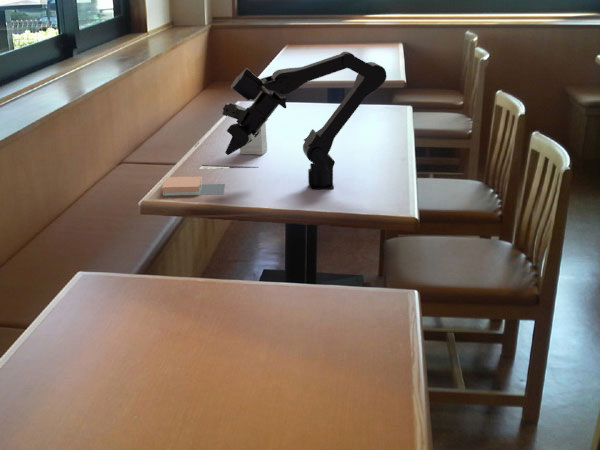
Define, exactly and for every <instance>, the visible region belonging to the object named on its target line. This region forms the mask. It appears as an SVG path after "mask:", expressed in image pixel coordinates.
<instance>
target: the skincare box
mask: <svg viewBox="0 0 600 450" xmlns="http://www.w3.org/2000/svg"><path fill="white" fill-rule="evenodd" d="M237 120H238V119H236V121H237ZM238 124H239V123H238ZM266 124H267V123H266V122H265V123H264V124H263V125H262V127H261V132H260V134H259V135H258V136H257V137H256V138H255V137H254V136H255V135H252V134H251V139H252V141H251V142H249V143H248V144H246V145H245V146H243V147H241V148H240V149H239V154H240V155H255V156H256V155H260V156H261V155H264V154H265V153H267V151H268V140H267V129H266V127H267V125H266Z"/></svg>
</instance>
